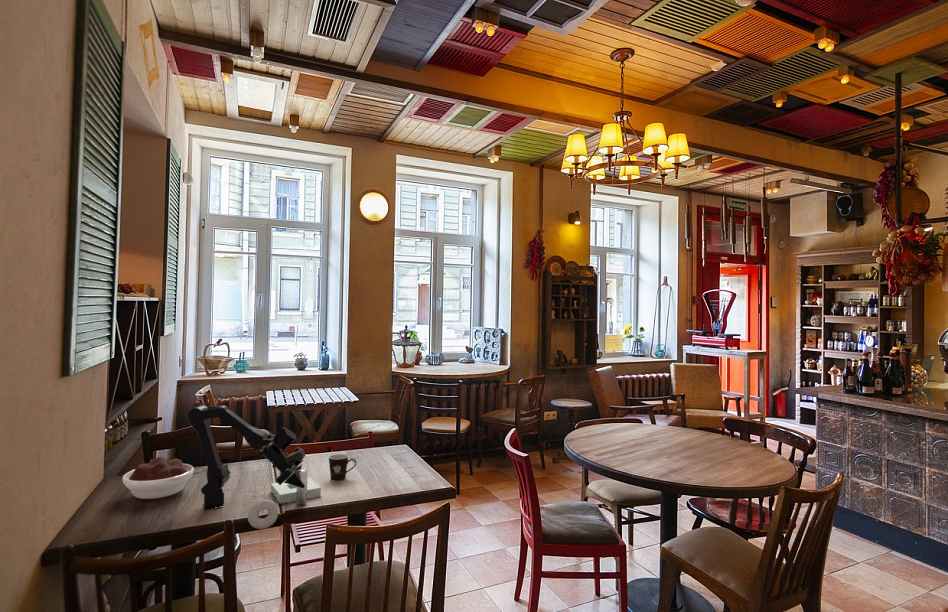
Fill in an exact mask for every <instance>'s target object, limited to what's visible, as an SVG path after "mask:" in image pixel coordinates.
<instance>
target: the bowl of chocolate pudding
mask: <svg viewBox="0 0 948 612" xmlns="http://www.w3.org/2000/svg"><path fill="white" fill-rule="evenodd" d="M194 471H195V469H194V466H193V465H191V464H188V463H183V461H182V460H181V459H178V458H173V459H171V460H168V459H166V458H165V457H163V456H157V457H155V458H151V459H150V460H149V461H148V463H145V462H143V463H142V464H141V463H140V464H139V465H138V466H137V467H136V468H135V469H132V470H130V471H128V472H126V473H125V474H124V475H123V476H122V483H123V485H124V486H125V487H126V488H127V489H128V490H129V491H130V493H131V494H132V495H133V497H134V498H137V499H142V500H152V499H153V500H154V499H162V498H165V497H166V498H167V497H169V496H173V495H176V494H178V493H180V491H182V490H183V489H184V488H185V486H186V484H187V482H188V481H189V480H190V479H191V477H192V476H193V474H194Z"/></svg>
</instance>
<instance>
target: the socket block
mask: <svg viewBox="0 0 948 612" xmlns="http://www.w3.org/2000/svg"><path fill="white" fill-rule="evenodd" d="M285 481H286V480H285ZM285 481H284V482H285ZM284 482H283V483H282V484H281V485H279V484H278V483H277V482H275V483H271V485H270V492H272V493H273V494H274V495H273V494H272V493H271V494H272V495H273V497H274V496H275V497H276V498H277V499H276V498H275V497H274V498H275V499H276V500H277V502H278V501H279V502H278V504H280V505H281V503H282V504H286V503H285V502H287V503H290V502H289V501H293V502H296V501H295V500H296V489H297V486H294V485H291V484H287V483H284ZM307 482H308V483H307V498H309V499H313V498H317V497H321V496H322V495H321V494H322V493H321V489H322V488H321V486H320V485H319V484H317V483H316V482H315V481H314V480H313V479H312V478H311V477H308V476H307Z"/></svg>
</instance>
